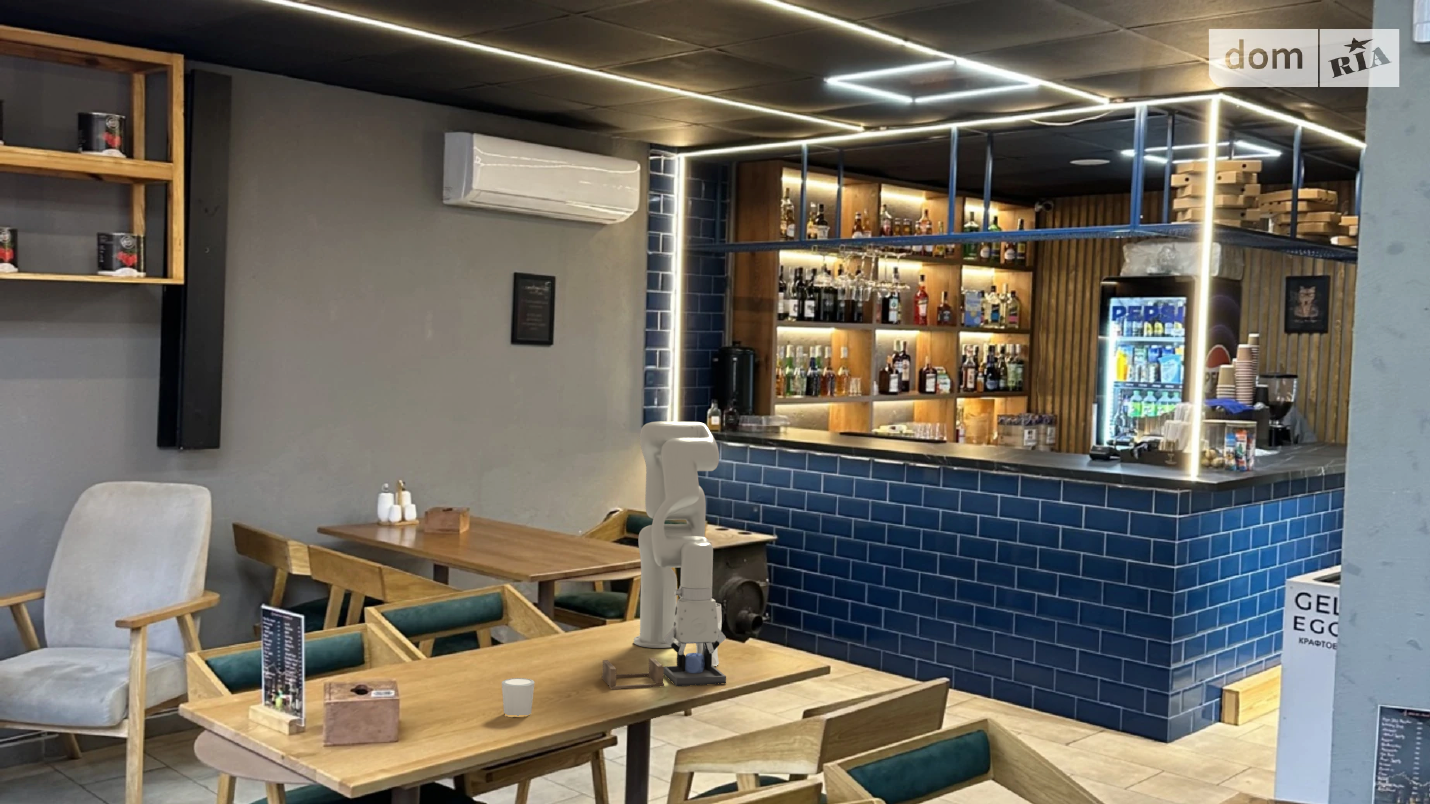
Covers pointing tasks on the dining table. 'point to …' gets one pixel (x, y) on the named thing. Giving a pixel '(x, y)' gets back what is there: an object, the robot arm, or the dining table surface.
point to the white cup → (517, 696)
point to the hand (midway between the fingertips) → (694, 668)
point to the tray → (694, 676)
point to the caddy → (633, 675)
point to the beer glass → (701, 647)
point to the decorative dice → (694, 663)
